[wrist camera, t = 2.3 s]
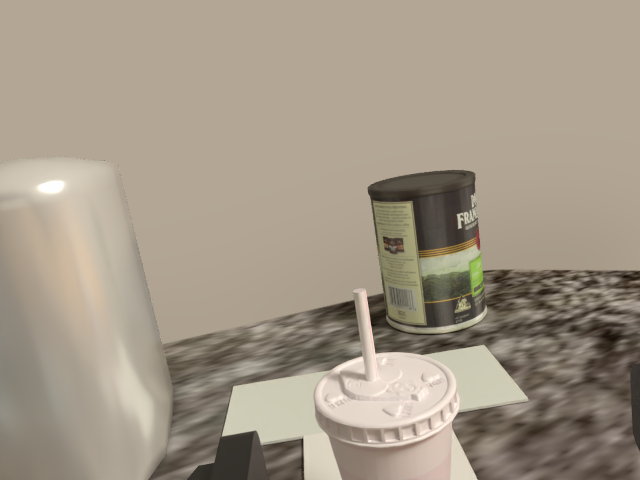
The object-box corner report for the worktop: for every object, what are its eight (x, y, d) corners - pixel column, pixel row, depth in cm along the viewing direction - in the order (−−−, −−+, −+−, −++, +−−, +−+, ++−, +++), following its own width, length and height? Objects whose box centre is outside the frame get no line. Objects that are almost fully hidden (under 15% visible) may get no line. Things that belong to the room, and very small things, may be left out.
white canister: (158, 384, 49) (98, 146, 44) (240, 440, 38) (173, 133, 33) (-30, 471, 40) (-133, 183, 35) (8, 577, 29) (-133, 181, 24)
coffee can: (493, 295, 57) (482, 165, 54) (479, 337, 48) (465, 184, 45) (400, 295, 62) (385, 175, 58) (372, 333, 53) (352, 193, 49)
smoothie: (389, 499, 30) (354, 263, 27) (500, 546, 26) (474, 273, 23) (316, 582, 25) (263, 310, 22) (436, 656, 21) (392, 333, 18)
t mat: (151, 750, 20) (150, 745, 20) (234, 388, 46) (233, 386, 46) (732, 651, 20) (732, 647, 20) (484, 347, 46) (484, 345, 46)
